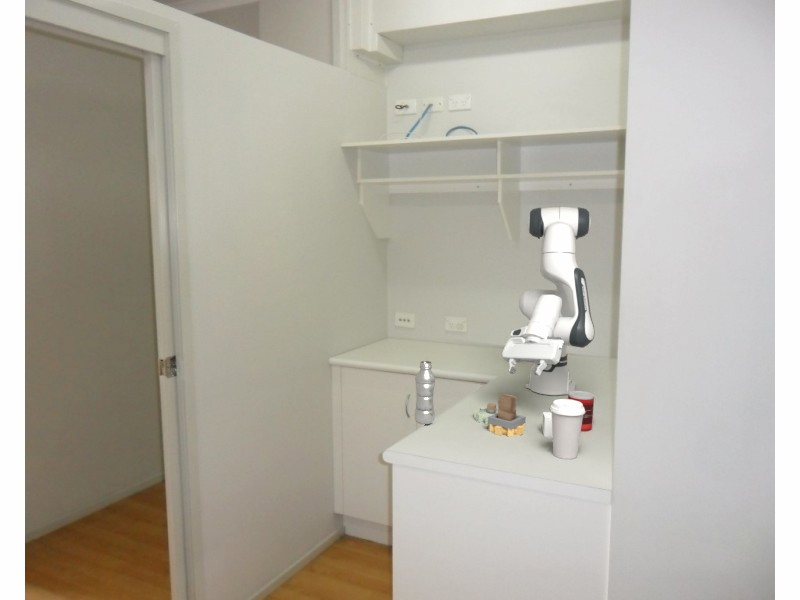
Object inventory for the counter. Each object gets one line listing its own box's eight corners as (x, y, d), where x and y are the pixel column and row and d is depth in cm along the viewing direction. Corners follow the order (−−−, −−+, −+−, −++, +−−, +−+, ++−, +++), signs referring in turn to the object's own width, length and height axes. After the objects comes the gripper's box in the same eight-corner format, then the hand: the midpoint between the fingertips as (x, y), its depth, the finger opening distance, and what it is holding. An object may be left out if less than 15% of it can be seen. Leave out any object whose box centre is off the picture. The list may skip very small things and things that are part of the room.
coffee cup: (540, 454, 178) (543, 402, 176) (559, 446, 184) (561, 396, 182) (571, 464, 171) (574, 410, 169) (589, 455, 177) (592, 403, 175)
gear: (478, 412, 214) (478, 398, 214) (510, 416, 211) (510, 401, 210) (471, 422, 204) (471, 407, 204) (504, 426, 201) (505, 411, 200)
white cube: (564, 438, 191) (565, 419, 191) (544, 437, 192) (544, 418, 191) (561, 431, 197) (562, 412, 197) (542, 430, 198) (542, 411, 197)
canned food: (572, 422, 207) (574, 389, 205) (596, 427, 202) (598, 393, 200) (562, 427, 201) (563, 394, 199) (586, 433, 196) (588, 398, 194)
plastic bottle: (436, 421, 205) (438, 360, 202) (431, 427, 199) (433, 365, 196) (417, 419, 207) (418, 359, 204) (411, 425, 200) (413, 363, 198)
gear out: (500, 422, 204) (501, 409, 204) (530, 430, 198) (531, 416, 197) (482, 430, 196) (482, 417, 196) (512, 439, 189) (513, 424, 189)
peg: (504, 420, 199) (505, 394, 198) (515, 423, 197) (516, 396, 196) (497, 423, 196) (498, 396, 195) (508, 426, 194) (509, 399, 193)
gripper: (569, 342, 200) (557, 380, 194) (516, 341, 215) (503, 376, 209) (560, 331, 197) (547, 370, 191) (507, 331, 211) (493, 367, 206)
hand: (523, 373), depth 200 cm, fingers open, 8 cm apart
